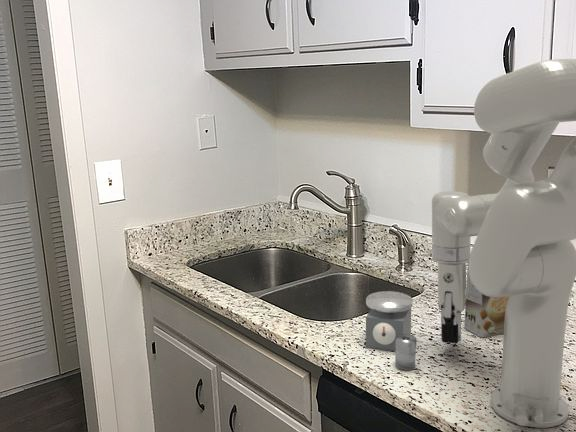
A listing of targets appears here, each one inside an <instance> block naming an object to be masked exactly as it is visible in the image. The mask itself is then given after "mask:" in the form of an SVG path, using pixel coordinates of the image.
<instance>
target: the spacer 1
mask: <svg viewBox="0 0 576 432" xmlns="http://www.w3.org/2000/svg"><path fill="white" fill-rule="evenodd" d="M394 352H395V356H394V366H395V368H396V369H397V370H399V371H401V372H402V371H403V372H411V371H413V370H415V369H416V362H417V361H416V360H417V359H416V357H417V356H416V354H417V353H416V352H417V338H416V336H414V335H411V334H410V335H407V334H402V335H398V336H397V337H396V351H394Z"/></svg>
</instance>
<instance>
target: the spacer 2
mask: <svg viewBox="0 0 576 432" xmlns="http://www.w3.org/2000/svg"><path fill="white" fill-rule="evenodd" d="M452 309H454V308H452ZM442 310H443V309H442ZM452 315H453V316H454V313H452ZM442 318H443V311H441V310H440V319H441V320H440V323H441V324H440V327H441V329H440V331H441V332H440V339H441V340H442ZM457 324H458V343H459V342H461V341H462V312H460V311H457Z"/></svg>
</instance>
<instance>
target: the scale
mask: <svg viewBox="0 0 576 432" xmlns="http://www.w3.org/2000/svg"><path fill="white" fill-rule="evenodd" d="M402 334H407V335H411V334H412V307H411V308H410V309H409V310H406V311H403V312H396V313H387V312H380V311H376V310H373V309H371V308H370V309H369V311H368V313H367V314H366V316H365V348H369V349H375V350H376V349H377V350H383V351H390V352H395V351H396V337H397V336H398V335H402Z"/></svg>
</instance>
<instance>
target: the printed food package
mask: <svg viewBox="0 0 576 432" xmlns="http://www.w3.org/2000/svg"><path fill="white" fill-rule="evenodd" d="M468 266H469V262H467V268H466V295H467V299H466V304H465V308H464V323H463V327H464V329H466V330H467V331H469V332H471V333H472V334H474V335H475V336H477V337H479V338H481V339H482V338H487V337H492V336H497V335H501V334H503V335H504V321H505V311H506V306H507V303H508V300H509V298H510V296H506V297H489V296H486V295H483V294H482V293H480V292H479V291H477V290H476V288H475V287H474V286H473V284H472V282H471V280H470V276H469V268H468Z"/></svg>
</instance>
